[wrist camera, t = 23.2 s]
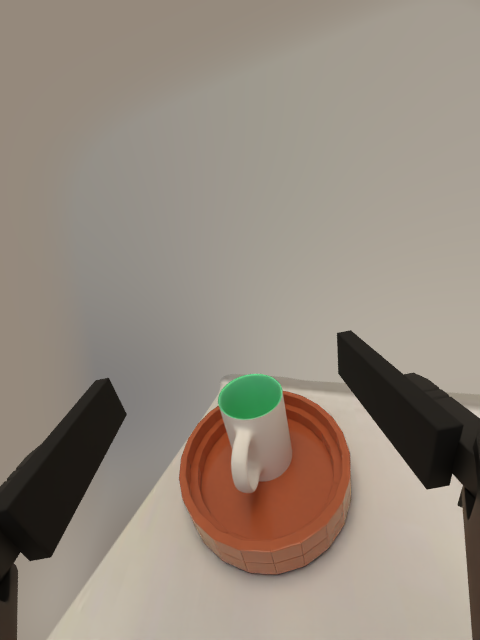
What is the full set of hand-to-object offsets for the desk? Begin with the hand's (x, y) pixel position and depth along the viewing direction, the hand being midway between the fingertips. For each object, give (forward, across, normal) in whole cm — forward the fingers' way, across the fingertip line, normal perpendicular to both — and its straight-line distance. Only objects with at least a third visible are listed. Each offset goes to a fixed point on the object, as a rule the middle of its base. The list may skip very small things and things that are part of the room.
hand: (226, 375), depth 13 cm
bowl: (+10, 0, -23) cm, 25 cm away
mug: (+10, 0, -22) cm, 24 cm away
